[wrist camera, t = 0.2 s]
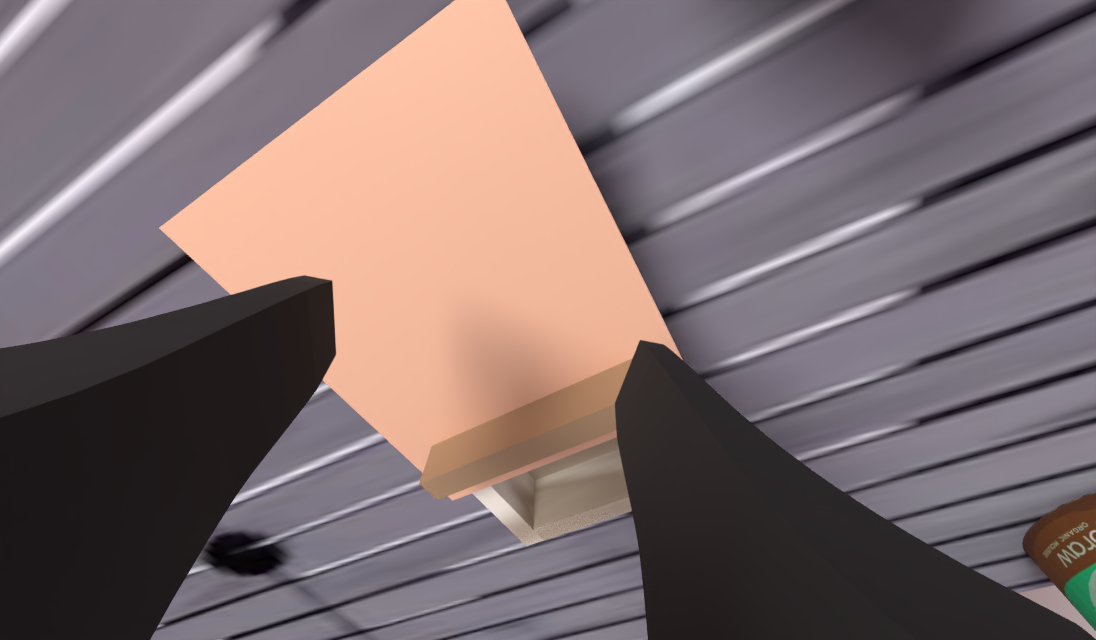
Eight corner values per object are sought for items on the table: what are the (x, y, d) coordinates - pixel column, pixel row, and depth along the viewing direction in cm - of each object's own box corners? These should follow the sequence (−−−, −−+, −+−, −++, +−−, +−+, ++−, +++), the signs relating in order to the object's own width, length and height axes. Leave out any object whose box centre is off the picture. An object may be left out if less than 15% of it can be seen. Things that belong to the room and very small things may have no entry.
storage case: (712, 419, 25) (739, 475, 21) (529, 488, 28) (526, 546, 24) (596, 183, 18) (607, 207, 14) (369, 312, 21) (333, 357, 17)
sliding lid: (696, 387, 18) (721, 439, 15) (456, 483, 21) (443, 539, 18) (496, -19, 11) (479, -52, 8) (183, 219, 14) (100, 249, 11)
